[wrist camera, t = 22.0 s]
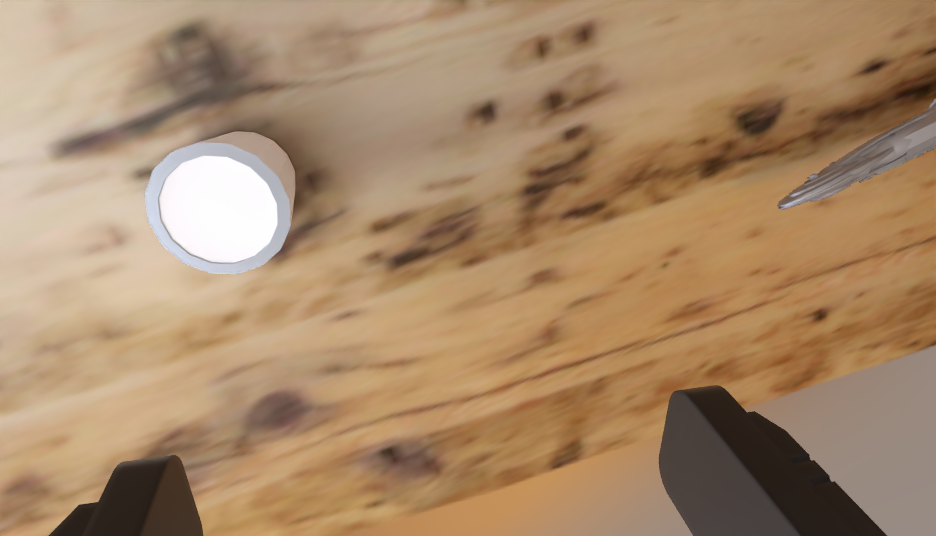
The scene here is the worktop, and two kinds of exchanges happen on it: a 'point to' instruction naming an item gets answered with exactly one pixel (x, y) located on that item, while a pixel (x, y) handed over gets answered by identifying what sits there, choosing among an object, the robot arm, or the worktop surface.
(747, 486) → the robot arm
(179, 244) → the beige white cylinder
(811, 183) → the spaceship
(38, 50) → the worktop surface
